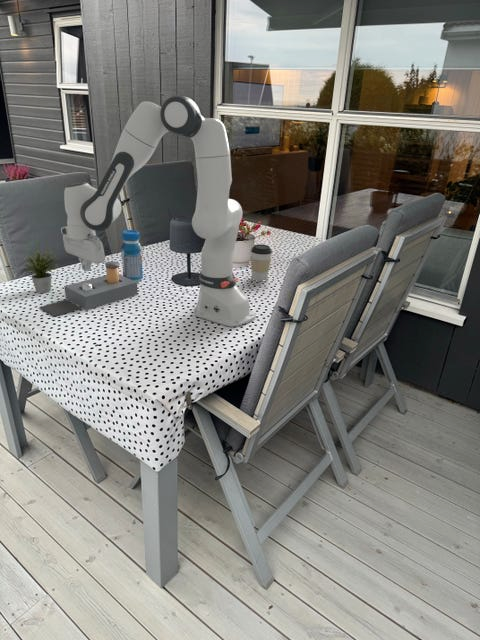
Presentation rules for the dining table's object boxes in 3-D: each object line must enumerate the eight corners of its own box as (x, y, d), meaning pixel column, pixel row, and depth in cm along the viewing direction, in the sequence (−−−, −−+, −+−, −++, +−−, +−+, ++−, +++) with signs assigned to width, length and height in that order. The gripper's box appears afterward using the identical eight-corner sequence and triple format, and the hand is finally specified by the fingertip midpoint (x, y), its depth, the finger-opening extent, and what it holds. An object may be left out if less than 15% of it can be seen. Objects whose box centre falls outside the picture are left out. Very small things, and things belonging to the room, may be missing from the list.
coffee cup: (270, 276, 200) (272, 243, 194) (269, 283, 192) (272, 249, 186) (249, 274, 201) (252, 242, 194) (248, 281, 193) (250, 247, 186)
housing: (116, 284, 181) (115, 272, 179) (137, 294, 173) (137, 282, 171) (65, 298, 166) (64, 285, 164) (86, 310, 158) (85, 296, 156)
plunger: (89, 295, 167) (88, 281, 165) (95, 298, 165) (94, 284, 163) (81, 298, 165) (79, 284, 162) (86, 301, 163) (85, 286, 160)
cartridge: (122, 293, 173) (121, 263, 168) (112, 296, 170) (110, 266, 165) (115, 289, 176) (113, 260, 171) (104, 292, 173) (102, 263, 168)
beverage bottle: (131, 284, 183) (129, 235, 174) (118, 278, 187) (115, 231, 179) (147, 279, 189) (145, 232, 180) (134, 274, 193) (131, 228, 185)
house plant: (48, 301, 163) (42, 258, 156) (14, 296, 165) (7, 253, 158) (69, 287, 175) (65, 247, 168) (37, 283, 178) (31, 243, 171)
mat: (81, 309, 158) (80, 307, 158) (54, 317, 151) (54, 315, 151) (66, 300, 164) (65, 299, 164) (39, 308, 157) (39, 306, 157)
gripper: (107, 235, 150) (111, 274, 156) (74, 225, 162) (79, 261, 168) (90, 238, 146) (95, 279, 152) (58, 227, 158) (63, 265, 164)
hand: (86, 269), depth 160 cm, fingers closed
